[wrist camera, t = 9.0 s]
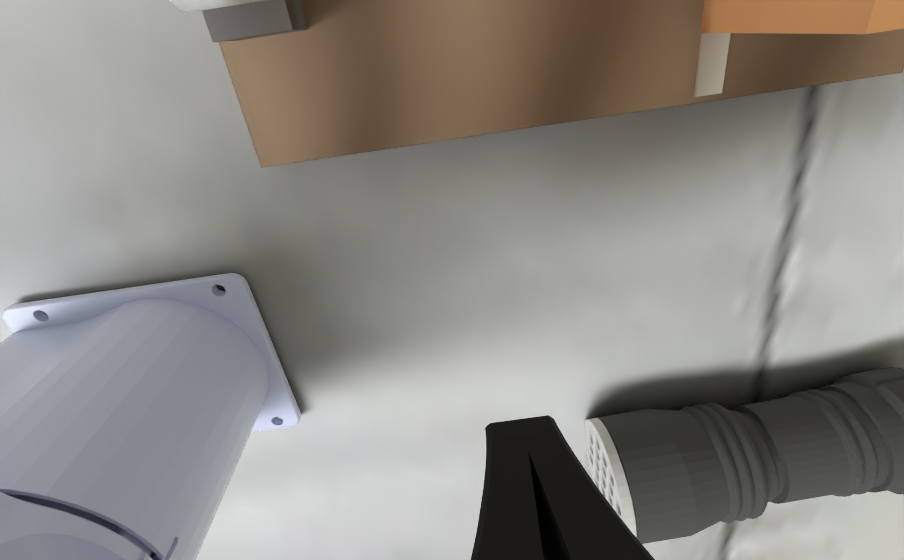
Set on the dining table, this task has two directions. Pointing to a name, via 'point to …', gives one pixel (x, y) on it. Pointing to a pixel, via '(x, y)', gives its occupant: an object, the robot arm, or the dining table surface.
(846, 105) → the dining table surface
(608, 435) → the flashlight
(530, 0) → the pipe stand
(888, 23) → the collar
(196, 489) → the robot arm
